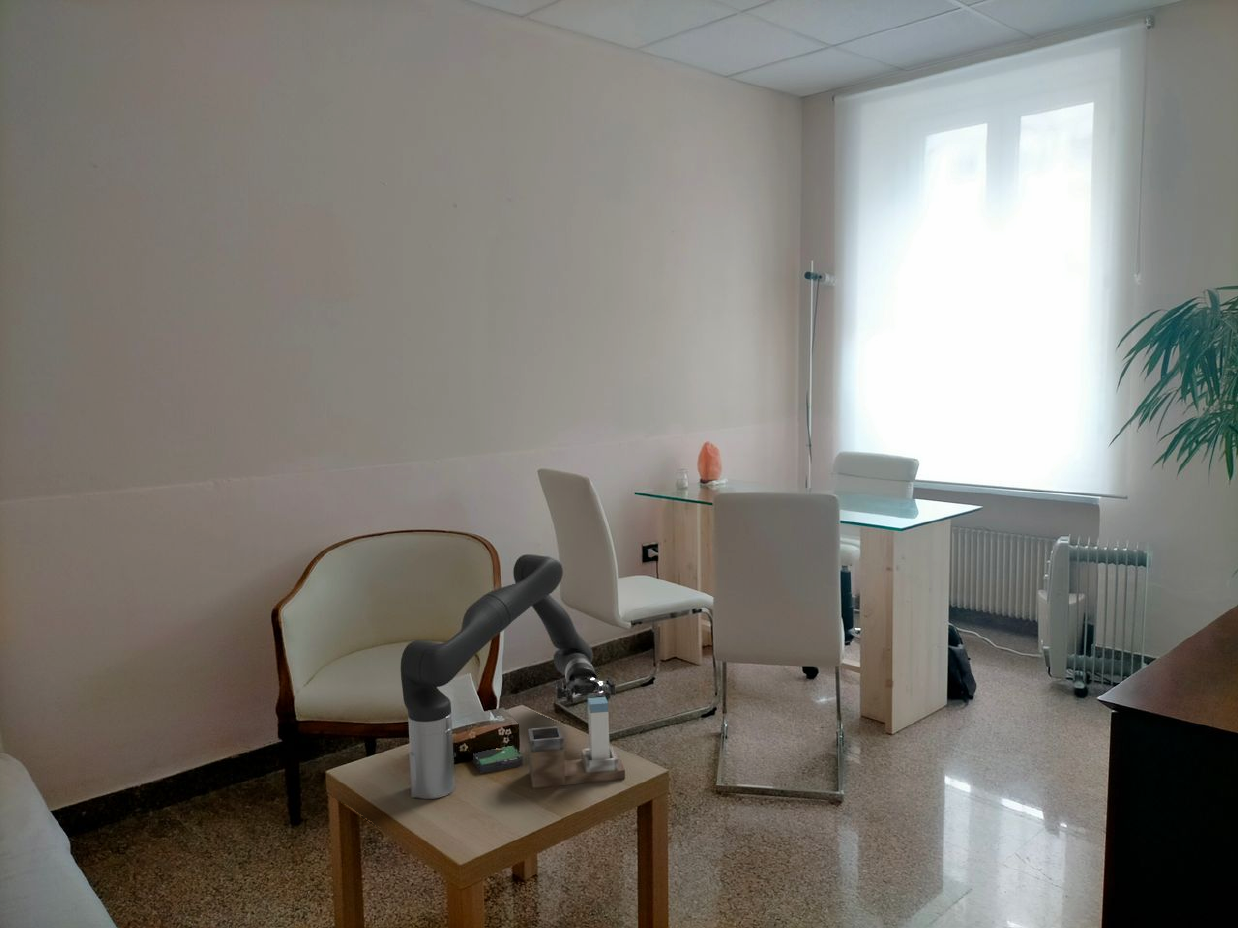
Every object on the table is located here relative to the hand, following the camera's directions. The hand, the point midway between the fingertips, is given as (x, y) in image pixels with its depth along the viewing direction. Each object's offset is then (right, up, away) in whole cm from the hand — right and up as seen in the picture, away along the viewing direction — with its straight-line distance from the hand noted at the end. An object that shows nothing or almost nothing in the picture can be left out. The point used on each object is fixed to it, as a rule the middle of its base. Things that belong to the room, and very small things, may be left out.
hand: (589, 698), depth 221 cm
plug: (+3, -13, -10) cm, 16 cm away
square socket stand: (-3, -15, -11) cm, 18 cm away
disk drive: (-23, -15, +1) cm, 27 cm away
